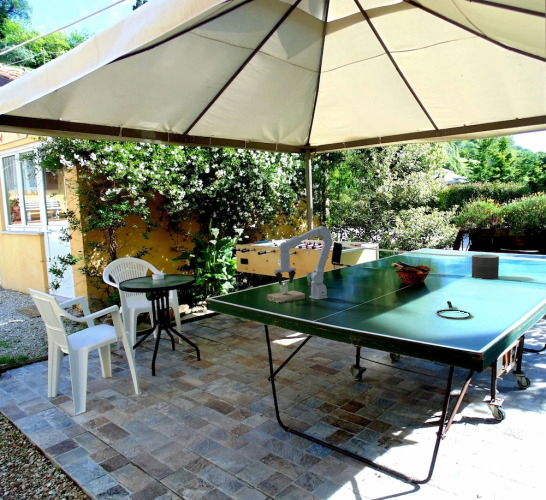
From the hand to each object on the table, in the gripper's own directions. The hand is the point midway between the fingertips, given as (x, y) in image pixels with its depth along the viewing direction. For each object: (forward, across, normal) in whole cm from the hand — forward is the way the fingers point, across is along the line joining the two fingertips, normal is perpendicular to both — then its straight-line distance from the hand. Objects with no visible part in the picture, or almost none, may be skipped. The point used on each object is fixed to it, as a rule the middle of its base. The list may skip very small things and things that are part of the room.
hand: (285, 283), depth 271 cm
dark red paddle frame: (+10, -52, +79) cm, 95 cm away
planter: (+10, -154, +29) cm, 157 cm away
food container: (+10, -36, -22) cm, 43 cm away
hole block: (+9, 0, 0) cm, 9 cm away
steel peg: (+9, 0, 0) cm, 9 cm away
